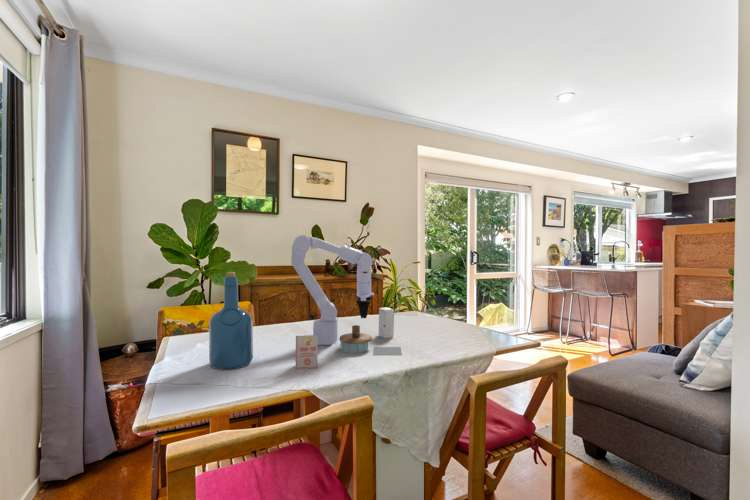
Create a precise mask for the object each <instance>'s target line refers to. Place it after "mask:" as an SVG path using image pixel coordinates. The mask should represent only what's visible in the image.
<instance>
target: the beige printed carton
mask: <svg viewBox="0 0 750 500" xmlns="http://www.w3.org/2000/svg"><path fill="white" fill-rule="evenodd" d="M318 346H319V345H318V343H317V335H313V334H311V335H309V334H308V335H307V334H306V335H295V370H303V369H318V367H319V366H318V365H319V364H318V361H319V360H318V359H319V357H318V348H319V347H318Z"/></svg>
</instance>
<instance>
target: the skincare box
mask: <svg viewBox="0 0 750 500" xmlns="http://www.w3.org/2000/svg"><path fill="white" fill-rule="evenodd" d="M394 330H395V309H393V308H391V307H388V306H386V307H379V308H378V337H381V338H383V339H390V338H394V335H395V334H394V332H395V331H394Z"/></svg>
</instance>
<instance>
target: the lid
mask: <svg viewBox="0 0 750 500" xmlns="http://www.w3.org/2000/svg"><path fill="white" fill-rule="evenodd" d="M360 327H361V326H360V325H359V324H357V325H352V326H351V329H352V330H351V332H350V333H349V332H348V333H344V334H342V335H340V336H339V341H340V343H341V342H344V343H350V344H360V343H367V342H368V343H369V342H372V341H373V335H371V334H369V333H364V332H361V328H360Z"/></svg>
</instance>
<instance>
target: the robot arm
mask: <svg viewBox="0 0 750 500" xmlns="http://www.w3.org/2000/svg"><path fill="white" fill-rule="evenodd" d="M310 249H311V250H314V249H315V250H316V249H321V250H324V251H327V252H330V253H333V254H336V255H337V256H338V257H339V260H343V261H346V262H349V263H351V264H353V265H355V264H356V266H357V268H356V270H357V271H356V296H357V299H356V304H357V306H358V310H359V316H360V319H367V317H368V312H369V306H370V304H371V302H372V301H371V299H372V296H375V293H374V292H372V264H373V262H374V260H373V258H372V256H371V254H370V253H368V252H364V251H363V250H362V249H356V248H354V247H352V245H350V244H347V245H342V246H338V245H336V244H333V243H330V242H328V241H326V240H323V239H320V238H319V237H313V236H307V235H303V234H300V235H298V236H297V237H295V239H294V241H293V243H292V245H291V261H290V262H291V265H292V266H293V268H294V271H296V274H297V275H298V277H299V278H300V280H301V281H302V282H303V283H304V286H305V288H306V289H307V291H308V292H309V294H310V295H311V297H312V299H313V300H314V302H315V303H316V305H317V306H318V310H319V312H320V317H319V319H315V320H314V321H313V327H312V335H317V343H318V346H332V345H338V344H339V341H340V337H339V338H338V336H339V334H338V333H339V331H338V327H339V326H338V321H339V320H338V318H337V316H338V309H337V307H336V306H335V304H334V302H332V301H330V300H329V298H328V297H327V295H326V294H325V293H324V291H323V289H322V288H321V286H320V284H319V283H318V281H317V280H316V278H315V276H314V275H313V273H312V271H310V268H309V267H308V264H306V262H305V260H306V259H305V258H306V256H307V252H308V251H309V250H310Z"/></svg>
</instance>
